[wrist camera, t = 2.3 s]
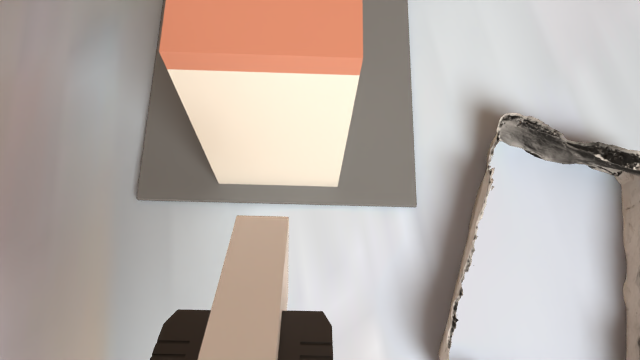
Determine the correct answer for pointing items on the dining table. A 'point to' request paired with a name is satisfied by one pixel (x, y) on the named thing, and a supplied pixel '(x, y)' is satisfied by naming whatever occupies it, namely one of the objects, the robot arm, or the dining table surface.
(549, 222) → the dining table surface
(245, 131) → the off-white block
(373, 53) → the charcoal mat
